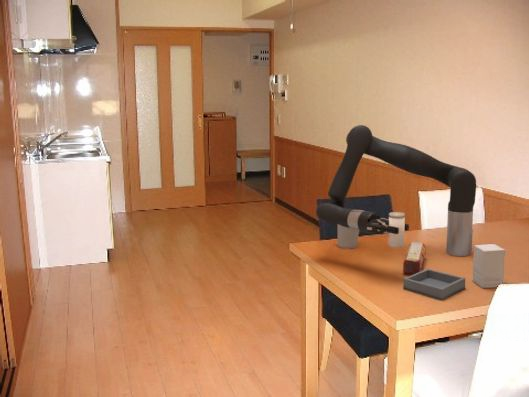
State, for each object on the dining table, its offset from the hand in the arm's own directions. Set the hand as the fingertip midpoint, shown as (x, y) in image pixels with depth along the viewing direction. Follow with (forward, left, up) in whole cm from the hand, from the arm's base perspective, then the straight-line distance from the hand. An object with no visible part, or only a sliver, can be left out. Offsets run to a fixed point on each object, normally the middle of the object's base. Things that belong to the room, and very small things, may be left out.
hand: (403, 229), depth 184 cm
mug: (-20, -40, -18) cm, 48 cm away
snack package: (-15, -5, -18) cm, 24 cm away
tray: (0, +12, -18) cm, 22 cm away
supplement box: (-16, +22, -18) cm, 33 cm away
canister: (0, -3, -6) cm, 7 cm away
